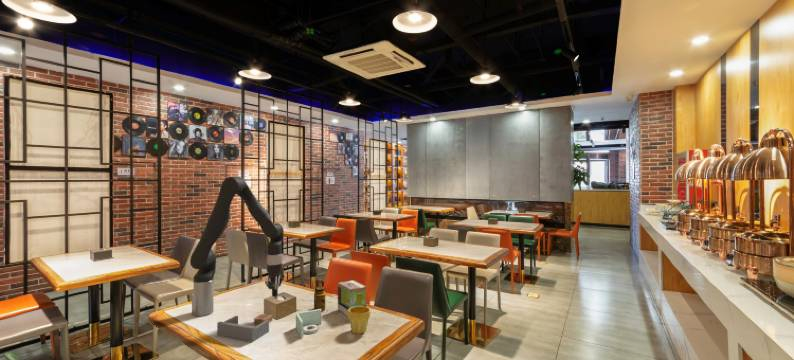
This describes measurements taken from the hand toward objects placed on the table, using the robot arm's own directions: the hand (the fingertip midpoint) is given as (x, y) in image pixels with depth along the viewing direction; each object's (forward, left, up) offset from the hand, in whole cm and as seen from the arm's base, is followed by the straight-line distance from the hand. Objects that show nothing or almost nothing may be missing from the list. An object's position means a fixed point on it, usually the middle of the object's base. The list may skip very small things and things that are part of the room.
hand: (274, 296), depth 178 cm
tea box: (+35, +17, -10) cm, 41 cm away
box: (0, -22, -10) cm, 24 cm away
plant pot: (+48, -3, -10) cm, 50 cm away
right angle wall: (+27, -9, -11) cm, 30 cm away
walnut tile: (0, -9, -11) cm, 13 cm away
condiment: (+17, +13, -10) cm, 24 cm away
